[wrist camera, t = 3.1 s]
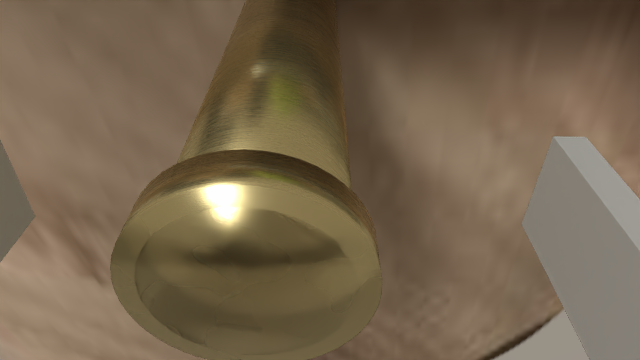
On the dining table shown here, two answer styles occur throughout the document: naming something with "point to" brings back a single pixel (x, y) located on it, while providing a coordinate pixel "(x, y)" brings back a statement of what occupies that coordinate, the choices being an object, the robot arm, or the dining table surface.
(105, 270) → the dining table surface
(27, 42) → the dining table surface
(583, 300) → the robot arm
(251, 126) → the pin
